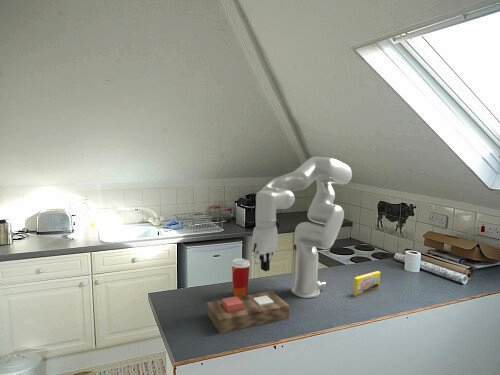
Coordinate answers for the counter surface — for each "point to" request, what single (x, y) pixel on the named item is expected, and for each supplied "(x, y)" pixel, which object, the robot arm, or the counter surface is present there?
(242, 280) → the coffee cup
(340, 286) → the counter surface
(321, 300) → the counter surface
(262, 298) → the white key
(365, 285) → the candy box
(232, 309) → the red key
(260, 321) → the panel
